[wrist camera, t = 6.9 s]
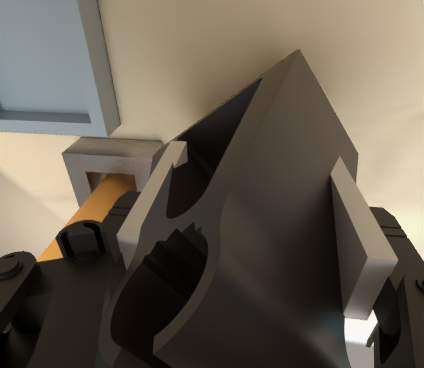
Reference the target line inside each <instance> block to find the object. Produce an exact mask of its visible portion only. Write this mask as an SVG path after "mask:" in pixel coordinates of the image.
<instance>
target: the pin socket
mask: <svg viewBox="0 0 424 368" xmlns="http://www.w3.org/2000/svg"><path fill="white" fill-rule="evenodd" d="M160 148H162V141H146V140H127V139H107V138H87V137H81V138H80V139H79V140H77V141H76V142H75V143H74V144H73V145H71V146H70V147H69V148H68V149H66V150H65V151H64V152H63V153H62V156H63V159H64V162H65V165H66V168H67V171H68V174H69V177H70V180H71V183H72V186H73V189H74V192H75V195H76V198H77V201H78V204H79V207H81V206H82V205H83V204H84V202H85V201H86V200H87V199H88V197H89V196H90V195H91V194H92V193H93V191H94V190H95V189H96V188H97V186H98V185H99V184H100V183H101V182H102V180H103V179H104V178H105V177H106V175H107V173H118V174H133V175H135V181H136V186H137V192H142V190H143V189H144V187H145V185H146V183H147V182H148V180H149V175H150V169H151V163H152V158H153V155H154V154H155V153H156V152H157V151H158V150H159V149H160Z"/></svg>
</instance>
